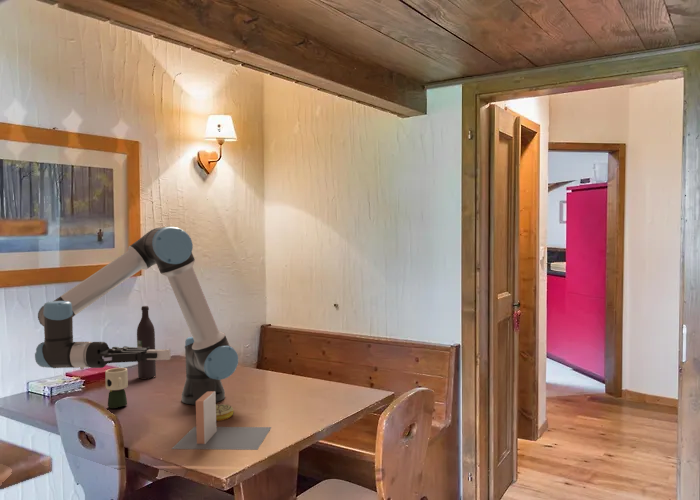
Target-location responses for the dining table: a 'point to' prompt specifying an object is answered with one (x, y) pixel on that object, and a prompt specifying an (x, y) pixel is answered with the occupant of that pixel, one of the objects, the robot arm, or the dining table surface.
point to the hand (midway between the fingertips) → (169, 354)
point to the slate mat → (227, 439)
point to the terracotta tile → (206, 417)
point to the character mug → (116, 386)
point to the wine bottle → (146, 344)
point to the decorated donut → (223, 412)
